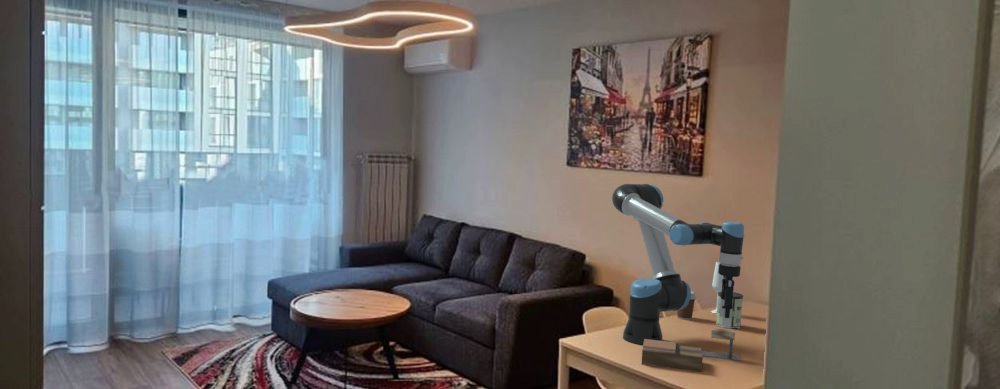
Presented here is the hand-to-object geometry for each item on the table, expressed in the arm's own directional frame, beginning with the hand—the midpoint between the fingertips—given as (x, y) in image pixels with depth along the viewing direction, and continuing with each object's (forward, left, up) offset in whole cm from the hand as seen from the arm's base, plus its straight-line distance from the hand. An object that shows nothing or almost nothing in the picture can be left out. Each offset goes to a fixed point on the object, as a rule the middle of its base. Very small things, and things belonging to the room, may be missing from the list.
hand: (724, 321), depth 246 cm
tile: (+16, -22, -7) cm, 29 cm away
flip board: (+16, -18, -13) cm, 27 cm away
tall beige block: (0, -1, -13) cm, 13 cm away
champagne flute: (-72, +3, -13) cm, 73 cm away
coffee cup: (-54, -12, -13) cm, 57 cm away
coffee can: (-49, +6, -13) cm, 51 cm away
